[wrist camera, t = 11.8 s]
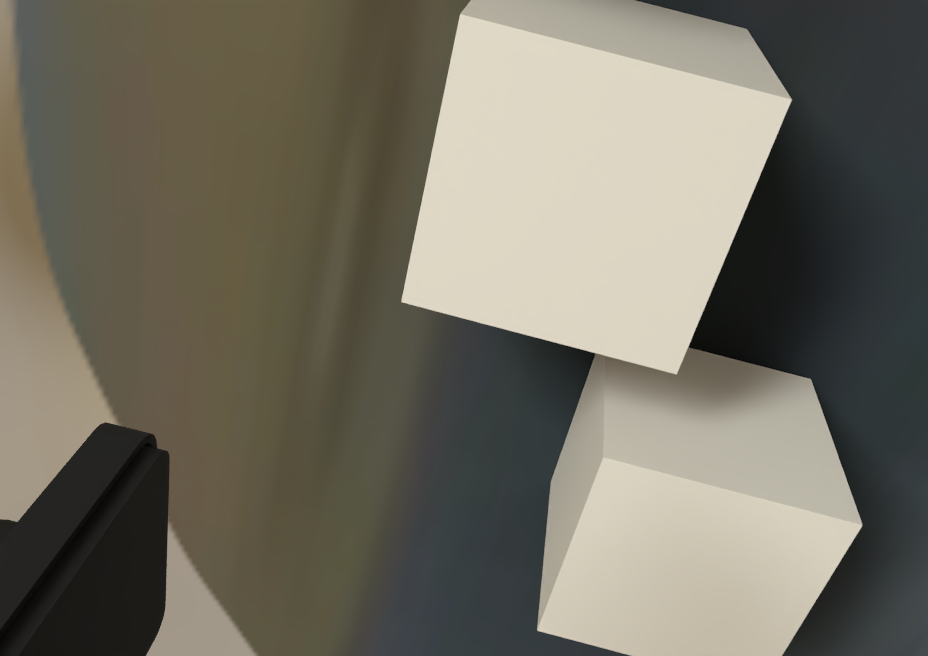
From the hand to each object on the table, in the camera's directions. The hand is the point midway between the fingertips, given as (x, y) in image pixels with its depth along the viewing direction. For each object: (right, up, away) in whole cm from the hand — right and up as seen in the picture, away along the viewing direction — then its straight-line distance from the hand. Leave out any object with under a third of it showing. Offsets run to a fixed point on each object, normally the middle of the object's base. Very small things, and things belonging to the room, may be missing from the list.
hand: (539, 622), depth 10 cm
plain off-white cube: (+6, 0, +21) cm, 22 cm away
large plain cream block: (+3, +10, +16) cm, 18 cm away
